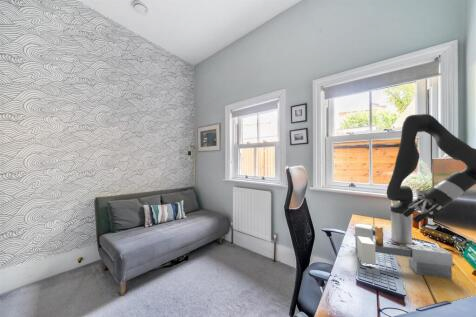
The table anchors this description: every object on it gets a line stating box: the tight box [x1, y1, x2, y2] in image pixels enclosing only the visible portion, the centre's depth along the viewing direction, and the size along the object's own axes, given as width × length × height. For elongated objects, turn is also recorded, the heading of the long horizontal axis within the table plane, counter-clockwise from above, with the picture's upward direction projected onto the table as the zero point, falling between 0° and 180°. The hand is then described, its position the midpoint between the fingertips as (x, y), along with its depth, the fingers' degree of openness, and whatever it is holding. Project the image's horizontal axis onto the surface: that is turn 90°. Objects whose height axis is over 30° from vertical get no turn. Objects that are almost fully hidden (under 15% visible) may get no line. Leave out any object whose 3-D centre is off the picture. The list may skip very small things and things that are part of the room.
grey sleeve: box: [405, 244, 454, 280], centre depth 77 cm, size 6×13×10 cm, turn 70°
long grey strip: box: [373, 225, 412, 258], centre depth 82 cm, size 3×20×11 cm, turn 70°
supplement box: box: [354, 223, 374, 251], centre depth 98 cm, size 7×7×13 cm
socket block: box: [357, 236, 377, 266], centre depth 85 cm, size 8×5×10 cm, turn 160°
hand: (409, 218), depth 80 cm, fingers open, 8 cm apart
